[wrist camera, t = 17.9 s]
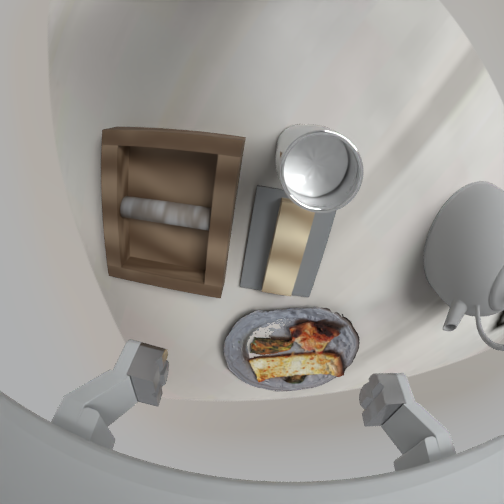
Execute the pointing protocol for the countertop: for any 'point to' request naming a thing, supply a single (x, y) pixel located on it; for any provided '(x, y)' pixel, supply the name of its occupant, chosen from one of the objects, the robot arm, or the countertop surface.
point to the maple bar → (287, 248)
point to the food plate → (292, 348)
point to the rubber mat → (263, 235)
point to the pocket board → (172, 183)
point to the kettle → (468, 255)
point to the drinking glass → (318, 167)
